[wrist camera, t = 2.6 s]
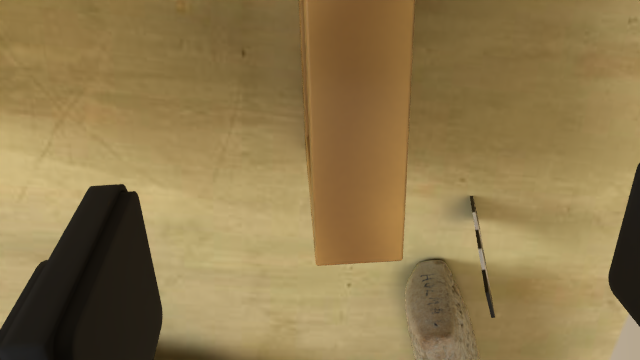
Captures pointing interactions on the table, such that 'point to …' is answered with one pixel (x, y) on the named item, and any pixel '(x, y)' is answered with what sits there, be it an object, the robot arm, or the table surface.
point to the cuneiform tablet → (442, 310)
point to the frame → (357, 125)
